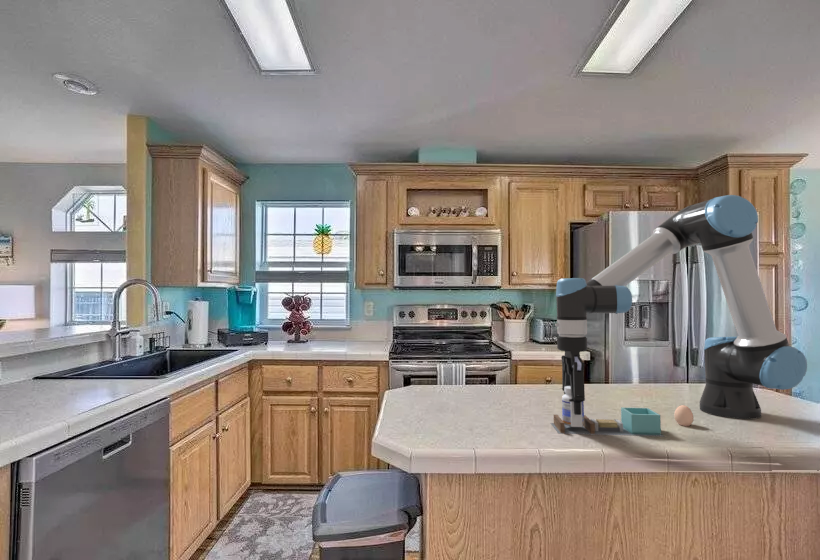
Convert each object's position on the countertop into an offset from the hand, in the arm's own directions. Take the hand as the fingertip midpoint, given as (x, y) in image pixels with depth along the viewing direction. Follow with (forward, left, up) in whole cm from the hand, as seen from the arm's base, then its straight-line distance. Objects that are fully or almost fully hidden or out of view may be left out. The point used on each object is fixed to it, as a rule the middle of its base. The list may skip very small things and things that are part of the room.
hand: (573, 422), depth 115 cm
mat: (-8, 0, -2) cm, 8 cm away
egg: (-31, -6, -2) cm, 32 cm away
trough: (0, 0, -2) cm, 2 cm away
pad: (-8, 0, -1) cm, 9 cm away
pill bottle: (0, 0, -1) cm, 1 cm away
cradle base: (-8, 0, -2) cm, 9 cm away
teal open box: (-17, 0, -2) cm, 17 cm away
